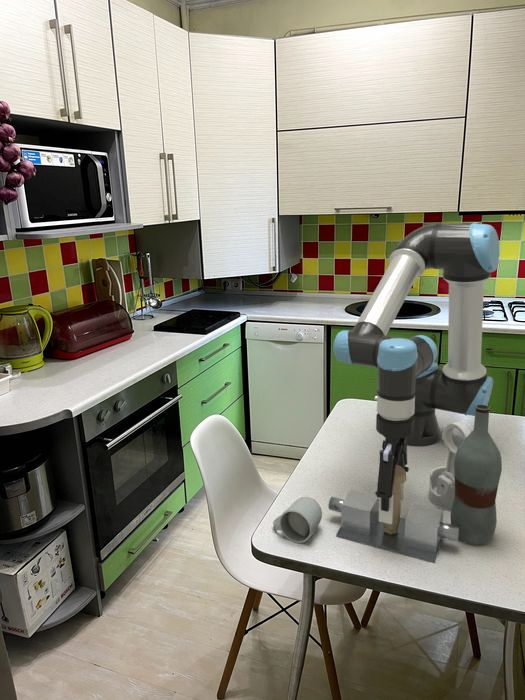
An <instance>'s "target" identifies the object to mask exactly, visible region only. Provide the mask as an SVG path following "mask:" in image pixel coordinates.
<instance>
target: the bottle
mask: <svg viewBox="0 0 525 700" xmlns="http://www.w3.org/2000/svg"><path fill="white" fill-rule="evenodd" d="M475 408H476V411H475V416H474V422H473V430H472V431H470V432H471V433H470V434H469V435H468V436H467V437H466V438H465V440H462V442H461V443H460V444H459V445H458V447H457V448H458V450H457V452H456V456H455V461H454V473H455V497H454V501H453V504H452V509H451V511H450V514H449V516H450V518H449V519H450V524H451V525H455V526H460V533H459V539H458V541H460V542H461V543H464V544H466V545H469V546H470V545H471V546H475V547H476V546H479V547H480V546H485V545H488V544H489V543H490V542H491V541H492V540H493V538H494V535H495V532H496V528H497V522H498V521H497V519H498V518H497V505H496V500H497V494H498V489H499V484H500V481H501V477H502V470H503V467H502V466H503V463H502V455H501V451H500V450H499V448H498V446H497V445H496V443H495V441H494V439H493V438H492V436H491V434H490V432H489V423H490V422H489V419H490V410H491V408H490V406H489V405H488V404H487V405H483V404H479V405H476V406H475Z"/></svg>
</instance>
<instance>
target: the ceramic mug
mask: <svg viewBox="0 0 525 700" xmlns="http://www.w3.org/2000/svg"><path fill="white" fill-rule="evenodd" d="M322 518H323V510H322V507H321V506H320V504H319V502H317V501H316V500H315V499H314V498H312V497H309V496H302V497H300V498H298V499H296V500H295V501H293V502H292V504H290V506H289V507H287V509H286V510H285V511H283V513H281V515H279V516H277V517H276V518H275V519H273V521H272V525H273V527H274V529H275V531H281V533H282V534H283V536H284V537H285V538H287V539H288V540H289V541H291V542H294V543H295V544H296V543H298V544H302V543H305V542H307V541H308V540H309V539H311V536H313V534H314V532H315V531H316V529H317V527H318V526H319V525H320V523H321V521H322Z"/></svg>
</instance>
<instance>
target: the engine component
mask: <svg viewBox="0 0 525 700" xmlns="http://www.w3.org/2000/svg"><path fill="white" fill-rule="evenodd" d="M454 430H456V431H458V432H459V433H460V435H461V436H462V439H463V440H462V441H464V440H465V438H466V437H467V436H468V435H469V434H470V433H471V432H472V431H471V430H470V429H469V427H467V426H466V425H465V424H464V423H462V422H459V421H455V422H451V423H447V425H444V426H443V427H442V433H441V434H442V435H441V440H442V441H443V443H444V446H445V448H446V449H447V450H446V451H448V453H447V460H446V465H442V466H438V467H435V468H433V469H432V470H430V473H429V487H428V488H429V489H428V500H429V502H430V503H431V504H432V505H433V506H435V508H437V509H441V510H443V511H449V512H451V509H452V504H453V501H454V497H455V473H454V461H455V456H456V452H457V450H458V447H457V446H456V445H455V443H454V440H453V431H454Z"/></svg>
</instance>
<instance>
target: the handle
mask: <svg viewBox="0 0 525 700" xmlns="http://www.w3.org/2000/svg"><path fill="white" fill-rule="evenodd" d="M406 481H407V472H406V471H405V470H404V469H403V468H402V467H401V466H399V465H396V470H395V477H394V484H393V491H392V495H394V496H393V522H392V524H388V523H384V522H383V525H384V526H383V530H384V532H386V533H389V534H390V535H392V534H396V533H397V531H398V526H399V522H400V518H401V513H402V503H401V502H402V500H401V488H400V485H401V483H403V482H404V483H405V482H406Z"/></svg>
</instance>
